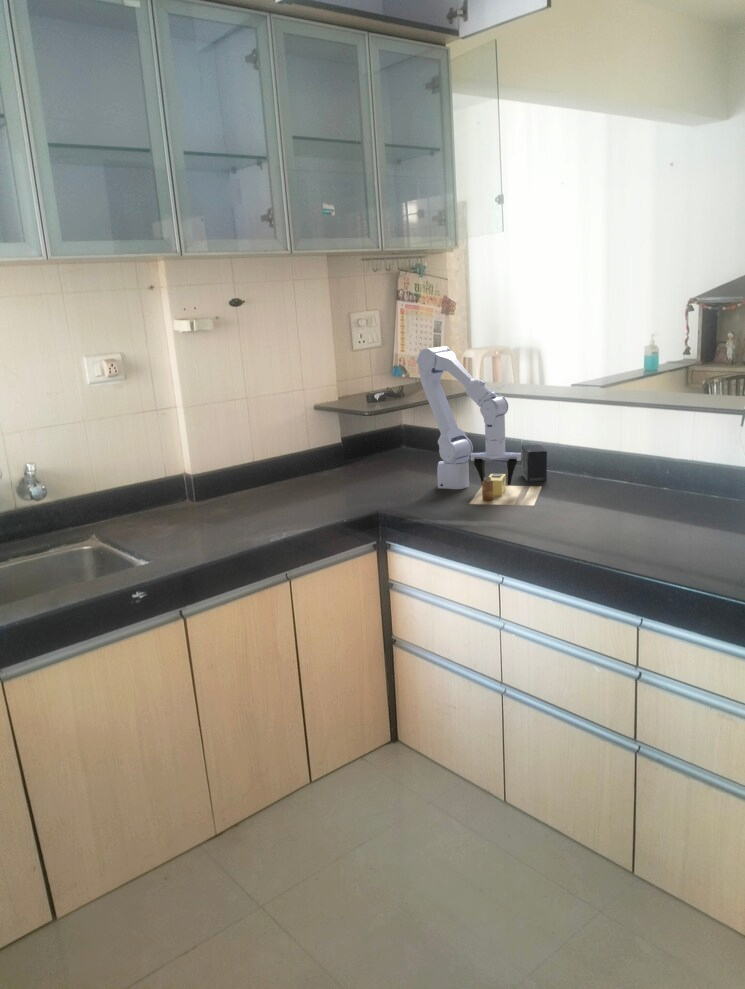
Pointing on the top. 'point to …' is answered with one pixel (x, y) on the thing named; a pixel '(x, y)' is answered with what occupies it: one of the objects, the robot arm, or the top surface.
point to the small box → (534, 463)
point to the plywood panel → (511, 496)
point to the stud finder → (498, 483)
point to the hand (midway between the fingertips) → (496, 484)
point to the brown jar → (487, 489)
